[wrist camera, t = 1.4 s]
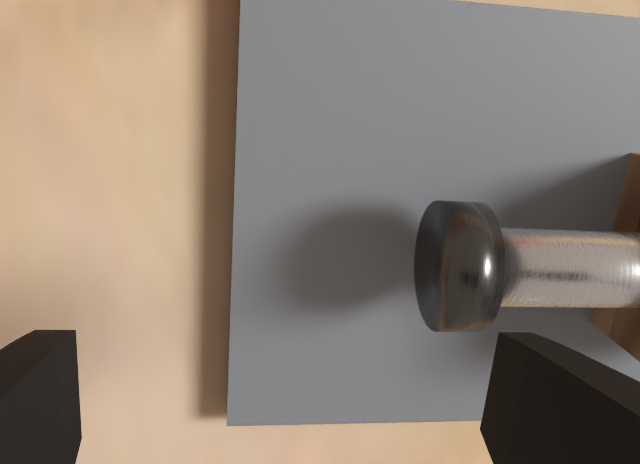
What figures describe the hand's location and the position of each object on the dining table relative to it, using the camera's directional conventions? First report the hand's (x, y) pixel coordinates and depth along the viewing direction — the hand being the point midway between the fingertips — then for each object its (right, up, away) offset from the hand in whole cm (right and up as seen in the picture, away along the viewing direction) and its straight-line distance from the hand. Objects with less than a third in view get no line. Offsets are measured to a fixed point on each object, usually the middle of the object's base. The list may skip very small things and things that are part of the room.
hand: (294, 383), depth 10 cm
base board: (+8, +3, +10) cm, 13 cm away
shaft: (+9, +2, +9) cm, 12 cm away
